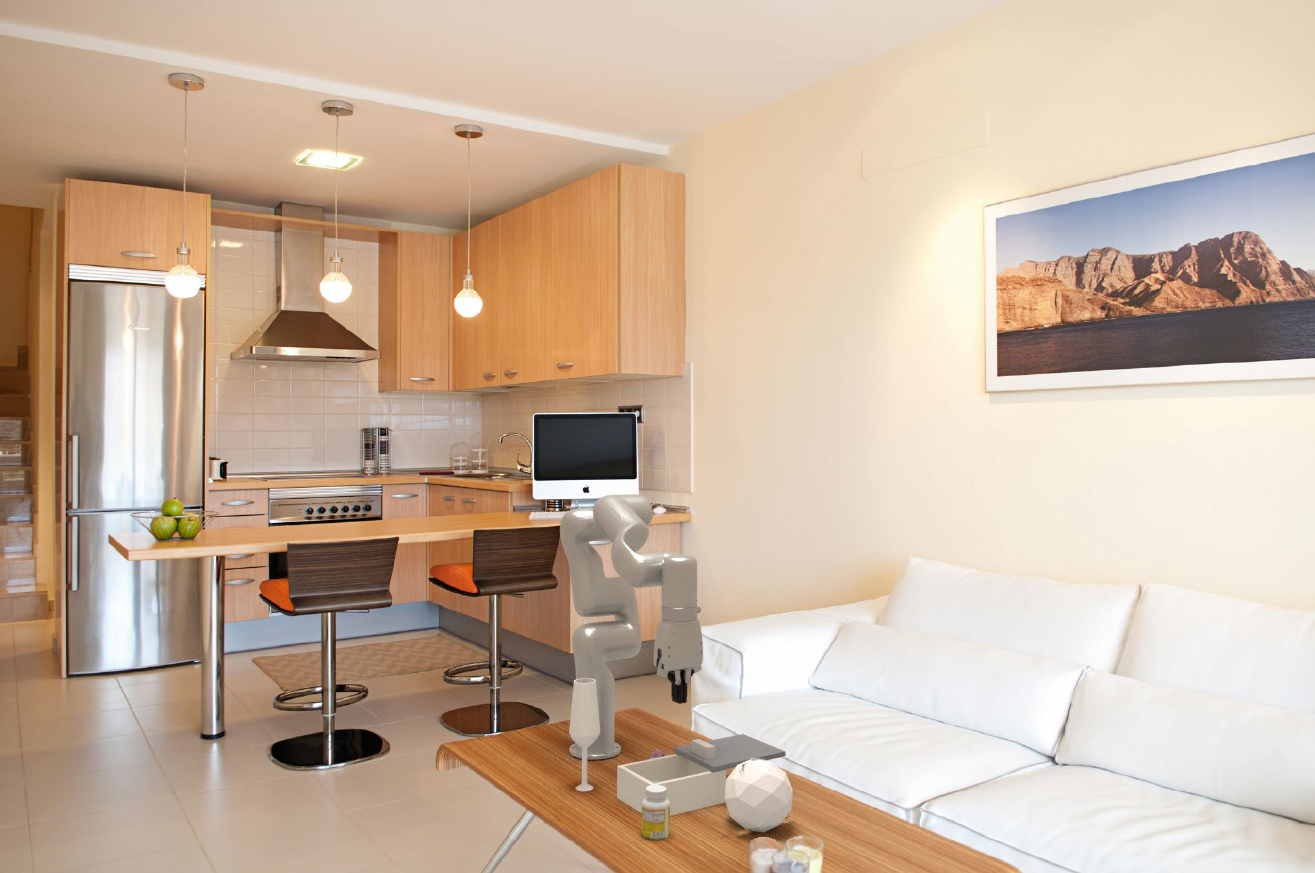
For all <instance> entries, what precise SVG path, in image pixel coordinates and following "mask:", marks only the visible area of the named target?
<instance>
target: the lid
mask: <svg viewBox="0 0 1315 873" xmlns="http://www.w3.org/2000/svg"><path fill="white" fill-rule="evenodd" d="M673 753H675V754H678V755H681V756H683V757H685V758H687V759H689V760H691V761H693V762H695V763H697V764H699V765H701V766H703V767H705V768H707V769H709V770H711V771H713V772H716V771H720V770H725V769H726V770H730V769H733V768H734V769H735V768H736V766H737V765H739V764H741V763H743V762H746V761H748V760H750V759H751V757H753V758H754V757H755V758H756V759H758V758H759V759H761V758H762V760H763V759H765V761H770V760H774V759H778V758H784V757H786V756H787V755H786V751H785V750H782V749H780V748H778V747H777V746H776V747H775V746H774V745H771V744H768V743H766V742H764V741H761V740H758V739H756V738H754V737H751V736H749V735H747V734H744V733H742V734H737V735H732V736H725V737H722V738H715V739H711V740H710V739H709V740H707V741H704V740H702V739H700V738H697V739H692V740H690V744H686V745H680V746H676V747H675V746H674V747H673Z"/></svg>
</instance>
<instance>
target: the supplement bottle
mask: <svg viewBox="0 0 1315 873" xmlns="http://www.w3.org/2000/svg"><path fill="white" fill-rule="evenodd" d="M645 794H646V798H645V799H644V800H643V801H642V814H641V836H642V838H644V839H646V840H650V841H651V840H652V841H660V840H665V839H667V838H669V837H670V833H671V832H670V828H671V825H670V823H671V822H670V821H671V818H670V817H671V816H670V802H669V800H668V799H667V798H666V795H667V789H666V787H664V786H662V785H650V786H647V787H646V792H645Z"/></svg>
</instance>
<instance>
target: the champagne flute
mask: <svg viewBox="0 0 1315 873" xmlns="http://www.w3.org/2000/svg"><path fill="white" fill-rule="evenodd" d="M571 697H572V699H571V708H570V718H569V728H568V733H569V736H570V738H571V739H572V741H573V742H574V743H576V744H578V745H579V746H580V747H582V759H581V783H580V784H579V785H577V786H575V790H576V791H579V792H588V791H592V790H593V789H594V786H593V785H591V784H589V783H588V759H587V747H589V746H590V745H591V744H592V743H593V742H594V741H595V740H596V739H597V738H598V736H599V734H600V723H599V712H598V700H597V689H596V680H594V679H590V678H581V679H576V678H575V679H574V680H573V687H572V696H571Z"/></svg>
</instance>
